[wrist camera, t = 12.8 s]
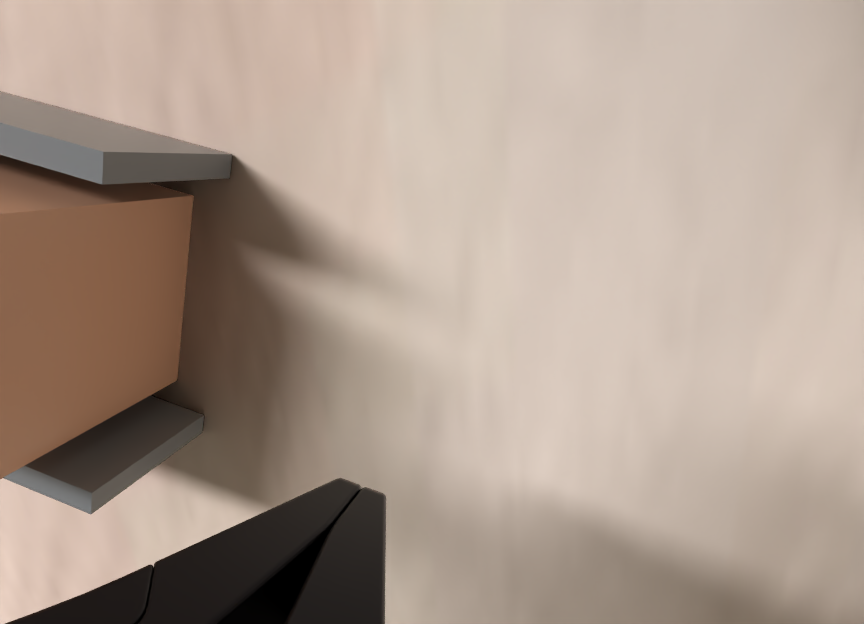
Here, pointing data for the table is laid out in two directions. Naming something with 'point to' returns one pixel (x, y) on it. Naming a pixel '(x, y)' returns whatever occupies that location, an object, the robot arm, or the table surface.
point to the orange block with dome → (84, 302)
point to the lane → (104, 164)
